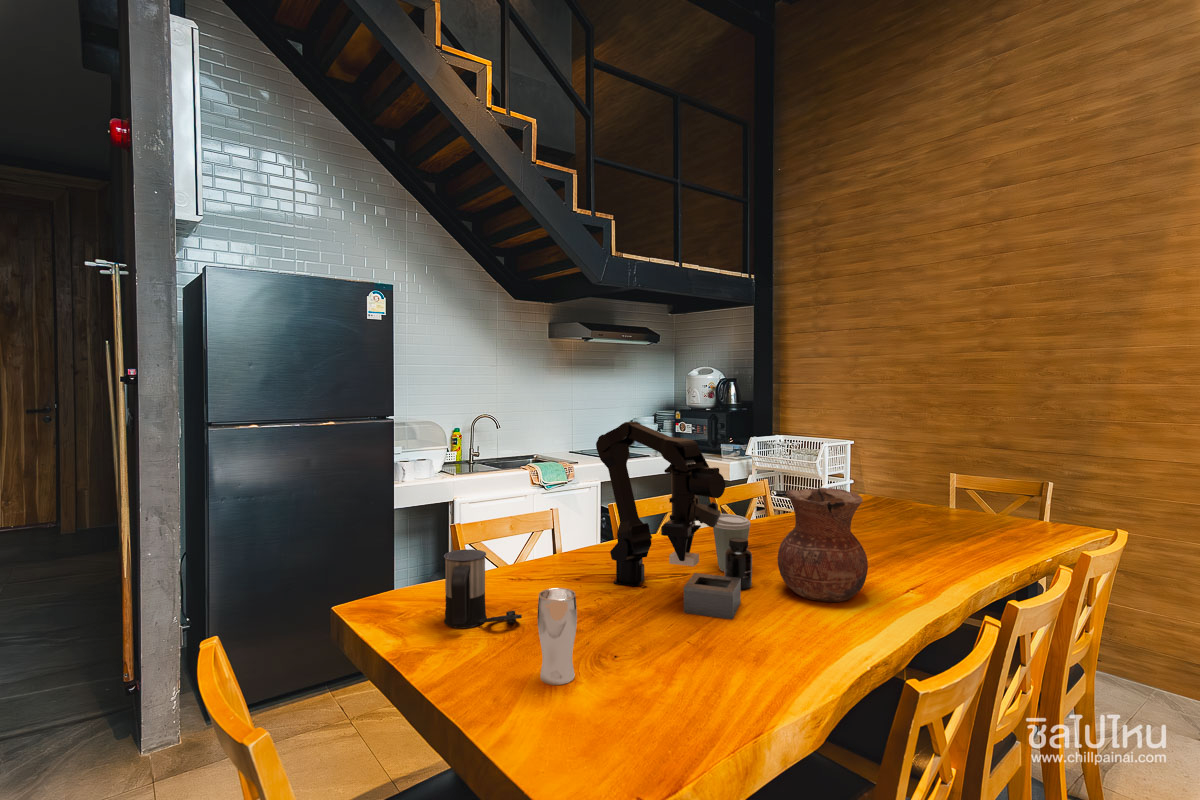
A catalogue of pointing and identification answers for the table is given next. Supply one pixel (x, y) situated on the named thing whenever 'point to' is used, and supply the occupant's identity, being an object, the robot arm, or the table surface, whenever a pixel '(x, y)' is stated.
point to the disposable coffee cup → (729, 534)
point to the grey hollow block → (712, 595)
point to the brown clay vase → (823, 546)
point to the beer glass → (557, 634)
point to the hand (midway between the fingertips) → (684, 558)
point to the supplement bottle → (739, 561)
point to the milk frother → (467, 590)
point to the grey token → (690, 559)
